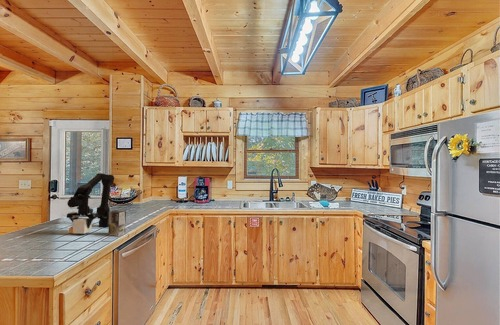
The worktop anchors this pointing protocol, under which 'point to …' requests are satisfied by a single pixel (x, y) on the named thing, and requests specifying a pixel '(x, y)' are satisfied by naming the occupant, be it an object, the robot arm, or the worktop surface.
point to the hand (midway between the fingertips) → (82, 228)
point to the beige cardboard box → (81, 226)
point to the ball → (71, 230)
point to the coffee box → (117, 222)
